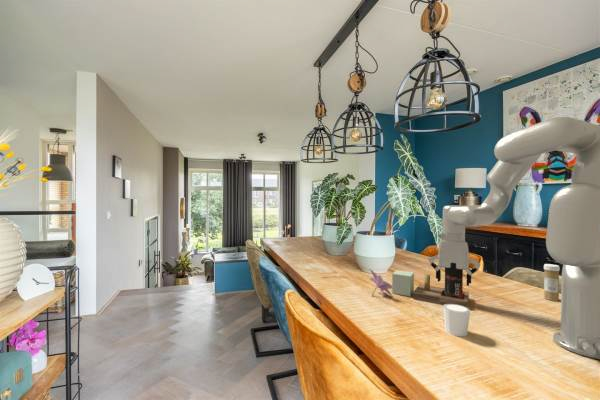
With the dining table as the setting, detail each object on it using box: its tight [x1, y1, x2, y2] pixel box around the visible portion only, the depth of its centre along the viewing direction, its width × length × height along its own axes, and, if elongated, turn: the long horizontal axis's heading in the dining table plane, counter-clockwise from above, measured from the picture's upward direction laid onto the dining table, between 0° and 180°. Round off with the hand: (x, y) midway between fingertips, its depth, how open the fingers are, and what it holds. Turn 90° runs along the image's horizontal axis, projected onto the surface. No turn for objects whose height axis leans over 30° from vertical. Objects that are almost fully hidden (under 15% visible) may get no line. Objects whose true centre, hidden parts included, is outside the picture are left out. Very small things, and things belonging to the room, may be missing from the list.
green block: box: [391, 269, 415, 297], centre depth 115 cm, size 7×7×8 cm
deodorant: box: [444, 263, 464, 299], centre depth 106 cm, size 6×6×15 cm
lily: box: [368, 268, 394, 297], centre depth 112 cm, size 12×12×10 cm
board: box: [412, 273, 470, 309], centre depth 109 cm, size 13×18×8 cm
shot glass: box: [442, 304, 471, 337], centre depth 81 cm, size 7×7×7 cm
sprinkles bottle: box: [543, 263, 561, 302], centre depth 109 cm, size 5×5×14 cm
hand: (453, 282), depth 106 cm, fingers open, 9 cm apart
